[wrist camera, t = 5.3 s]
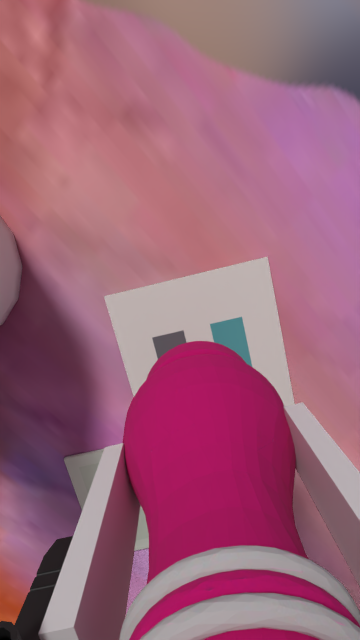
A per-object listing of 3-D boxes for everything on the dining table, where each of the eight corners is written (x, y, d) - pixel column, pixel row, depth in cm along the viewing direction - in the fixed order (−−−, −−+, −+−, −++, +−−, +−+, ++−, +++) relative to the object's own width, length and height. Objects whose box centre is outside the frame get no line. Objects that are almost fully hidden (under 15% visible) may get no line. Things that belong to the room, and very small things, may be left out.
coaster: (99, 555, 29) (98, 557, 29) (64, 457, 27) (63, 459, 27) (210, 533, 29) (210, 535, 29) (183, 431, 27) (183, 433, 27)
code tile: (146, 439, 27) (146, 441, 27) (104, 295, 24) (104, 296, 24) (294, 407, 26) (295, 409, 26) (266, 256, 24) (267, 256, 24)
